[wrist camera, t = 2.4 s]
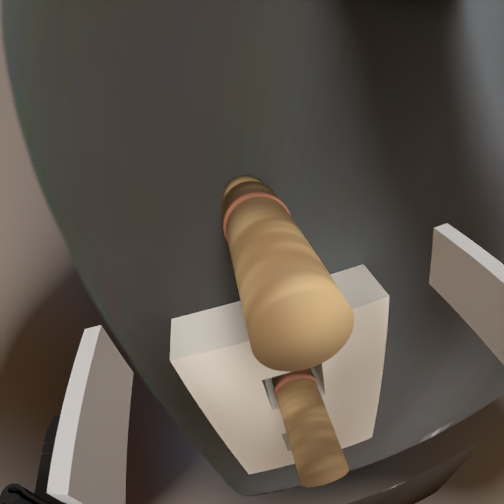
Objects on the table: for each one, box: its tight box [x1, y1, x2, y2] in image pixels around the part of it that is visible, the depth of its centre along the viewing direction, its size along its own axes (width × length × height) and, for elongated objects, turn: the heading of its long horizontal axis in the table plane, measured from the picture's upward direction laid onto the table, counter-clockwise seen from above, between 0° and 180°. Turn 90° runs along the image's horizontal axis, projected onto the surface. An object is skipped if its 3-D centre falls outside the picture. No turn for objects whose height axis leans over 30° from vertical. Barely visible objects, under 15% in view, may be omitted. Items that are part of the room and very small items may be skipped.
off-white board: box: [170, 264, 389, 474], centre depth 29 cm, size 16×24×4 cm, turn 13°
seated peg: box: [272, 368, 349, 487], centre depth 23 cm, size 4×4×13 cm
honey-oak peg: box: [222, 175, 354, 372], centre depth 15 cm, size 4×4×13 cm
